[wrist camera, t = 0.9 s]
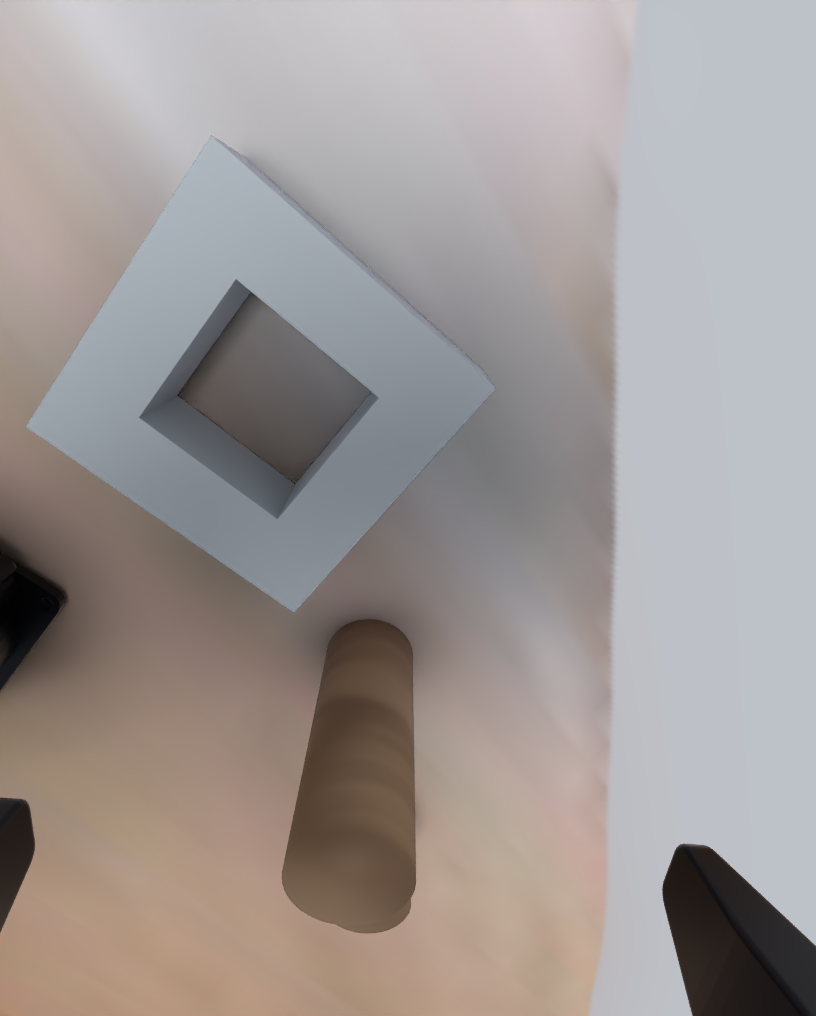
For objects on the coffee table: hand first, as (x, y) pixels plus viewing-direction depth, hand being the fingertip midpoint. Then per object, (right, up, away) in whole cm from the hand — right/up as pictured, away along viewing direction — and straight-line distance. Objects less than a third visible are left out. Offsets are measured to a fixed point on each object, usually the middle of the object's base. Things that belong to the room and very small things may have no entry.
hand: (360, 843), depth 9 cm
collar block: (-3, +8, +11) cm, 14 cm away
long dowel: (-1, -1, +15) cm, 15 cm away
